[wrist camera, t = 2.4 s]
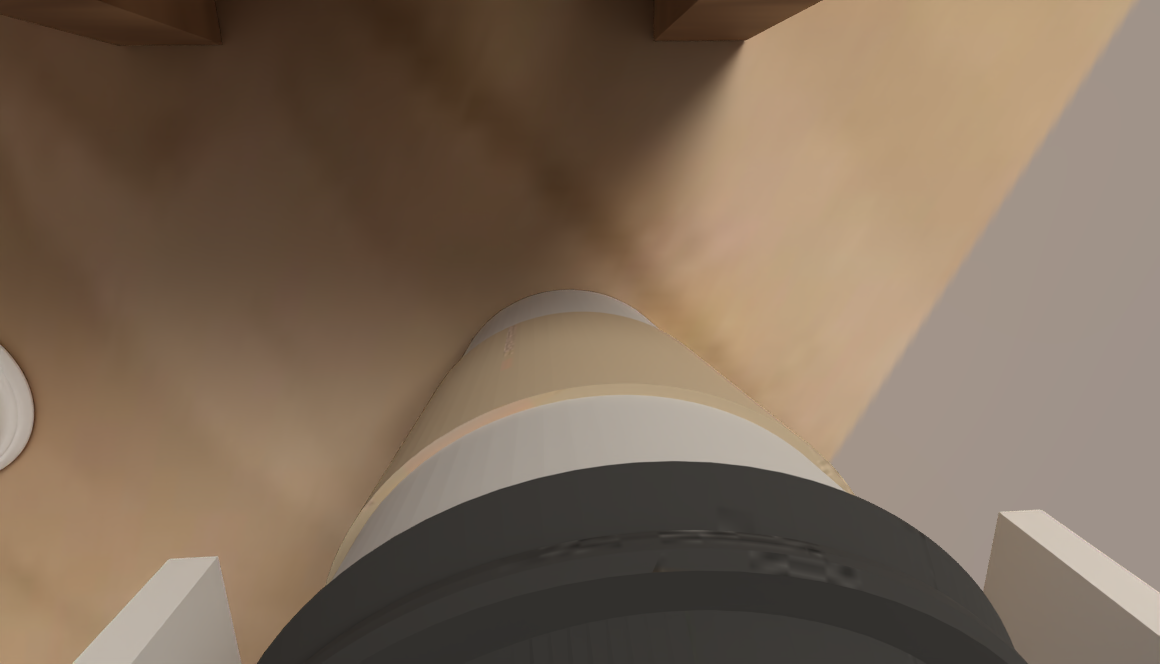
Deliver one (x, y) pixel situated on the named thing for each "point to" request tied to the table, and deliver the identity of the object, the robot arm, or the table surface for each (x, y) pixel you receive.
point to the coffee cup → (624, 523)
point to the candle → (13, 409)
